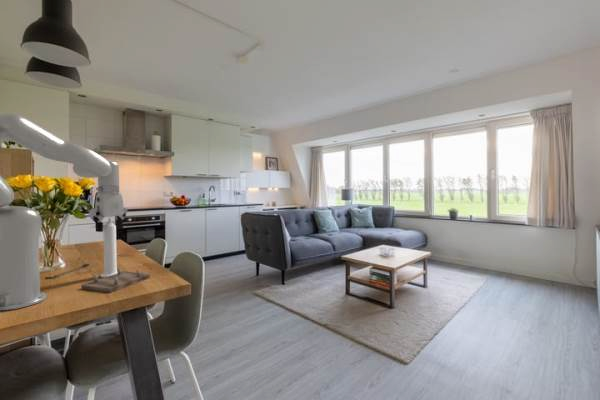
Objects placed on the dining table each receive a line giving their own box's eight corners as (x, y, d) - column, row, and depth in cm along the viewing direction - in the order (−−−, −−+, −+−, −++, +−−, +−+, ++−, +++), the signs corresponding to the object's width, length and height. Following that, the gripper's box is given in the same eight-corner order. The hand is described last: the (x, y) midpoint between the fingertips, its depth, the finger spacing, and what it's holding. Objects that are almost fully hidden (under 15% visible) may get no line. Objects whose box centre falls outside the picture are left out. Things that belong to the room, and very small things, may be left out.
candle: (101, 278, 115) (100, 219, 114) (100, 274, 120) (98, 217, 119) (121, 275, 119) (120, 218, 118) (119, 271, 125) (118, 216, 124)
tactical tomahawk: (58, 281, 114) (58, 279, 114) (43, 280, 114) (43, 277, 114) (99, 266, 135) (99, 264, 135) (86, 265, 135) (86, 263, 135)
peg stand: (110, 292, 99) (110, 281, 99) (81, 288, 103) (81, 278, 103) (150, 277, 117) (149, 268, 117) (123, 274, 120) (123, 265, 120)
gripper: (95, 190, 109) (96, 233, 110) (133, 190, 126) (133, 227, 126) (81, 190, 111) (82, 232, 112) (120, 190, 128) (120, 227, 128)
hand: (109, 230), depth 119 cm, fingers open, 8 cm apart
